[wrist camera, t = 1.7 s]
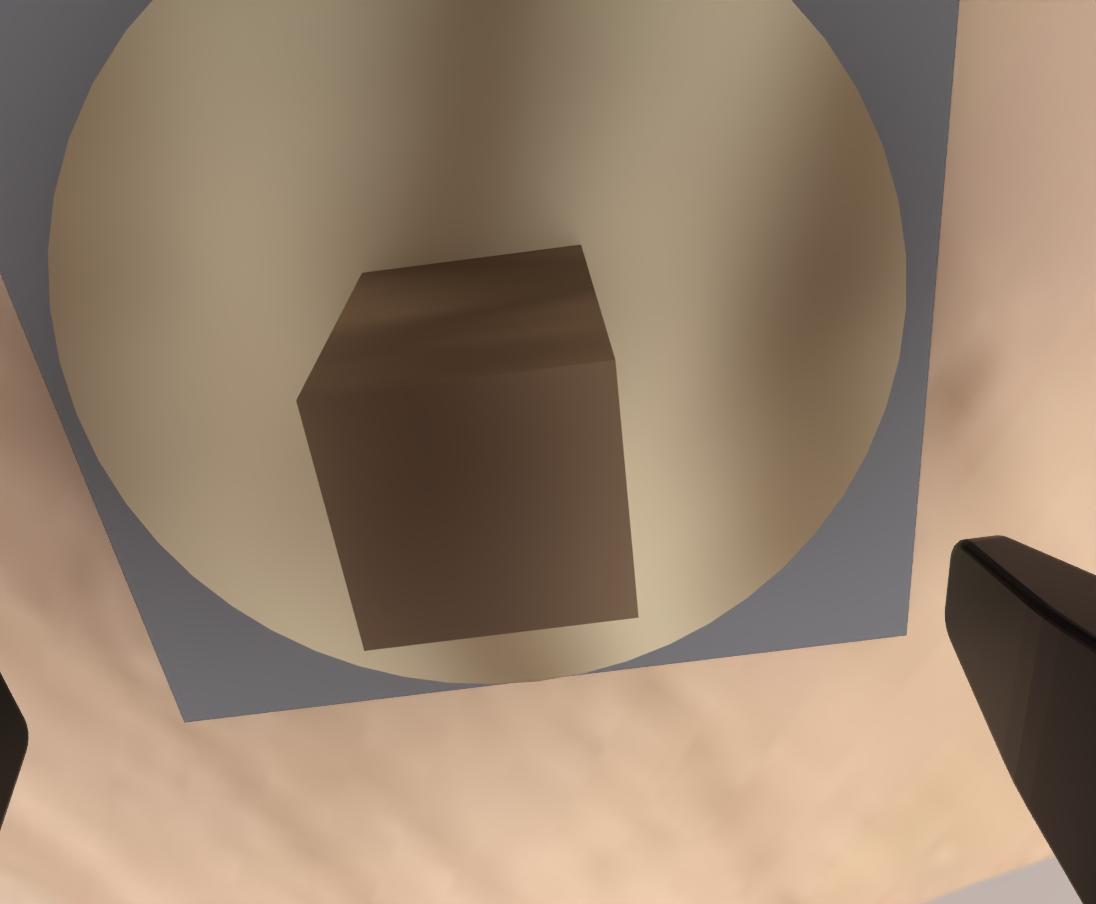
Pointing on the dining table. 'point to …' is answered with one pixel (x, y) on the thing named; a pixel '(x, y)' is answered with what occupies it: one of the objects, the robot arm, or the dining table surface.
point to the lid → (478, 314)
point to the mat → (748, 628)
